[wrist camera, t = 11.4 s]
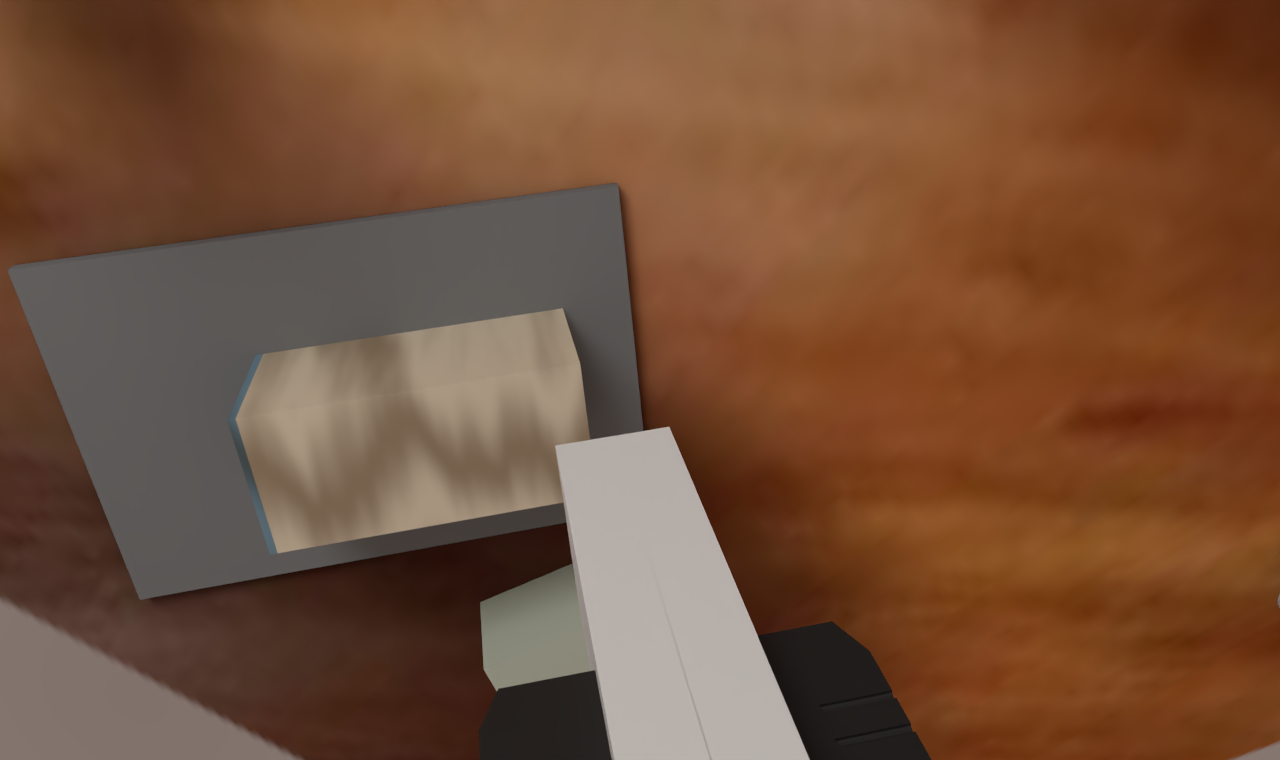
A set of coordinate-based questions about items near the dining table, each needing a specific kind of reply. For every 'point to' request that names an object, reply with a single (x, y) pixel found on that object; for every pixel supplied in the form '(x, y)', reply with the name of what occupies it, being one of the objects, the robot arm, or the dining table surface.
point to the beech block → (408, 428)
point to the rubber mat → (298, 318)
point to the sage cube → (534, 631)
